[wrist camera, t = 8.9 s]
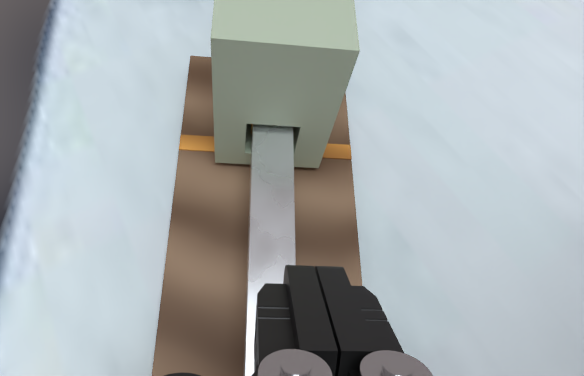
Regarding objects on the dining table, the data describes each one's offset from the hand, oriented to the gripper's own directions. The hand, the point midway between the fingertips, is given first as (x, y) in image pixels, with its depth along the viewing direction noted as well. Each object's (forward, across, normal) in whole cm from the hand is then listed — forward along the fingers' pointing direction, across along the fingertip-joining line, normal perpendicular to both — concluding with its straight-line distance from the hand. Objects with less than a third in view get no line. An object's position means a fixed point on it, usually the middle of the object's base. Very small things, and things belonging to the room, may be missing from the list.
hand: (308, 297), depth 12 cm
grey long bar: (+15, 0, +3) cm, 16 cm away
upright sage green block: (+21, 0, 0) cm, 21 cm away
